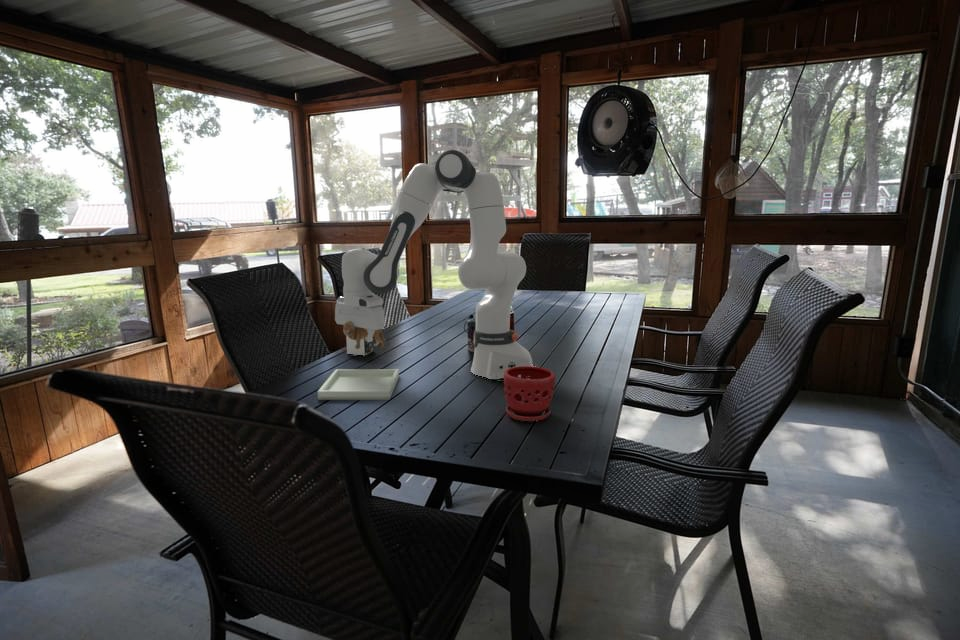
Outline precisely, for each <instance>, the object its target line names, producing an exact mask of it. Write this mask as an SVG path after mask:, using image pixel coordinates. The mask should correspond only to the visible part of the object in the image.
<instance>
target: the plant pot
mask: <svg viewBox="0 0 960 640" xmlns="http://www.w3.org/2000/svg"><path fill="white" fill-rule="evenodd" d="M518 375H521V377H520V378H518ZM527 376H529V377H530V378H527ZM555 376H556V375H555V373H554V371H552V370H550V369H547V368H545V367H539V366H537V367H533V366H519V367H513V368H509V369H507V370H506V371H505V372H504V380H503V385H504V386H503V391H504V397H505V401H506V403H507V406H506V407H505V411H506V414H507V415H508V417H510V418H512V419H513V418H514V419H513V420H516V419H518V420H525V421H533V420H541V419H543V420H545V419H547V418H548V417H549V416H550V414H551V408H550V407H549V406H550V404H551V402H552V399H553V396H554V392H555V391H554V390H555V383H556V382H555V380H556V377H555ZM537 378H538V379H537ZM544 411H545V413H544V414H543V415H542V413H543V412H544ZM546 417H547V418H546ZM544 418H545V419H544ZM518 420H517V421H518ZM541 421H542V420H541Z"/></svg>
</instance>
